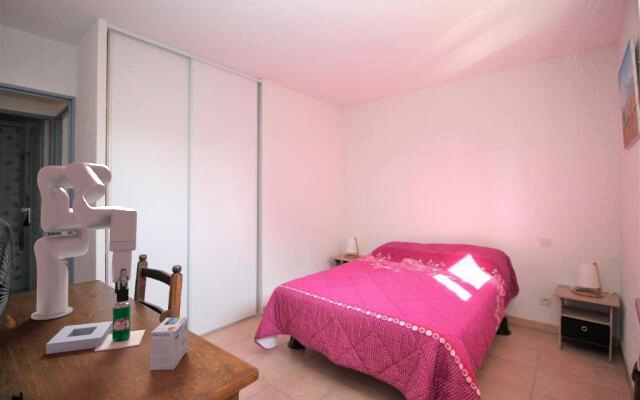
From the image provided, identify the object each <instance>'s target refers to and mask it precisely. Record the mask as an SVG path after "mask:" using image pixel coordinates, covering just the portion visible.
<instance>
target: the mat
mask: <svg viewBox="0 0 640 400" xmlns="http://www.w3.org/2000/svg"><path fill="white" fill-rule="evenodd" d="M145 332H146V329H139V330H130V337H129V338H128V339H127V340H125V341H121V342H115V341H113V340H112V333H110V334H109V335H108V336H107V338H106V339H105V341H104V342H103V344H102V345H101V346H97V347H96V348H94V351H93V352H95V353H96V352H102V351H103V352H104V351H109V350H117V349H118V350H119V349H123V348H124V349H125V348H131V347H132V348H133V347H139V346H140V345H141V342H142V340H143V337H144V335H145Z"/></svg>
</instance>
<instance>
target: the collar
mask: <svg viewBox="0 0 640 400" xmlns="http://www.w3.org/2000/svg"><path fill="white" fill-rule="evenodd" d="M112 322H113V320H112V321H111V320H110V321H101V322H92V323H91V322H90V323H84V324H83V323H82V324H72V325H64V327H63V328H61V329H60V330H59V331H58V333H56V335H54V336H53V337H52V338H51V339H50V340H49V341H48V342H47V343H46V344H45V346H46V347H45V354H46V355H49V354H56V353H65V352H73V351H79V350H80V351H81V350H87V349H96V348H97V346H101V345H102V344H103V342H104V341H105V339H106V338H107V336H108V335H109V334H112Z"/></svg>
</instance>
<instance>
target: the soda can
mask: <svg viewBox="0 0 640 400" xmlns="http://www.w3.org/2000/svg"><path fill="white" fill-rule="evenodd" d="M130 303H131V302H130V301H129V300H128V301H124V302H117V301H116V302H114V304H113V307H112V321H113V322H112V331H111V334H112V340H113V341H115V342H121V341H125V340H127V339H128V338H129V337H130V331H131V321H132V320H131V316H132V315H131V313H132V312H131V311H132V310H131V309H132V308H131V307H132V305H131V304H130Z"/></svg>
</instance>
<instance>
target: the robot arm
mask: <svg viewBox="0 0 640 400" xmlns="http://www.w3.org/2000/svg"><path fill="white" fill-rule="evenodd" d="M111 172H112V171H111V169H110V168H109V167H108V166H107V165H105V164H101V163H92V162H82V161H81V162H78V161H77V162H76V161H75V162H71V163H69V164H67V165H66V166H65V165H46V166H43V167H42V168H40V169H39V171H38V172H37V176H36V177H37V181H36V182H37V187H38V189H39V192H40V197H41V205H40V227H41V229H42V230H43V231H44V232H46V233H65V232H72V233H71V234H58V235H57V234H56V235H45V236H42V237H41V238H38V239H37V240H36V241H35V242H34V245H33V251H34V255H35V259H36V311H35V312H32V313H31V316H30V318H31V320H34V321H35V320H36V321H44V320H52V319H58V318H61V317H64V316H67V315H70V314H71V313H73V311H74V310H73V307H71V306H69V268H68V266H67V265H66V264H65V263H64V262H63V260H62V259H67V258H74V257H76V258H77V257H81V256H84V255H86V254H87V253H88V252H89V247H90V239H91V238H90V237H91V231H93V230H97V231H98V230H109V240H108V241H109V244H108V245H109V246H108V247H109V249H108V251H109V252H110V253H112V256H111V257H112V258H111V259H112V261H111V282H112V283H114V294H116V303H117V302H124V301H129V299H130V298H129V293H130V292H129V291H130V289H129V281H130V280H131V276H132V275H131V274H132V263H133V262H132V259H133V257H132V256H133V255H132V254H133V252H134V251H136V250H137V231H138V230H137V224H138V221H137V220H138V212H137V210H135V209H134V208H126V207H122V206H90V205H89V204H92V203H95V202H97V201H99V200H101V199H103V197H104V196H105V195H106V192H107V191H106V190H107V188H106V186H107V185H109V184H110V183H111V180H112V178H113V177H112V173H111ZM65 189H73V190H74V192H75V193H76V195H75V196H74V198H73V201H72V206H71V207H72V208H71V207H70V199H71V198H70V196H69V194H68V193H67V191H66V190H65Z"/></svg>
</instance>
